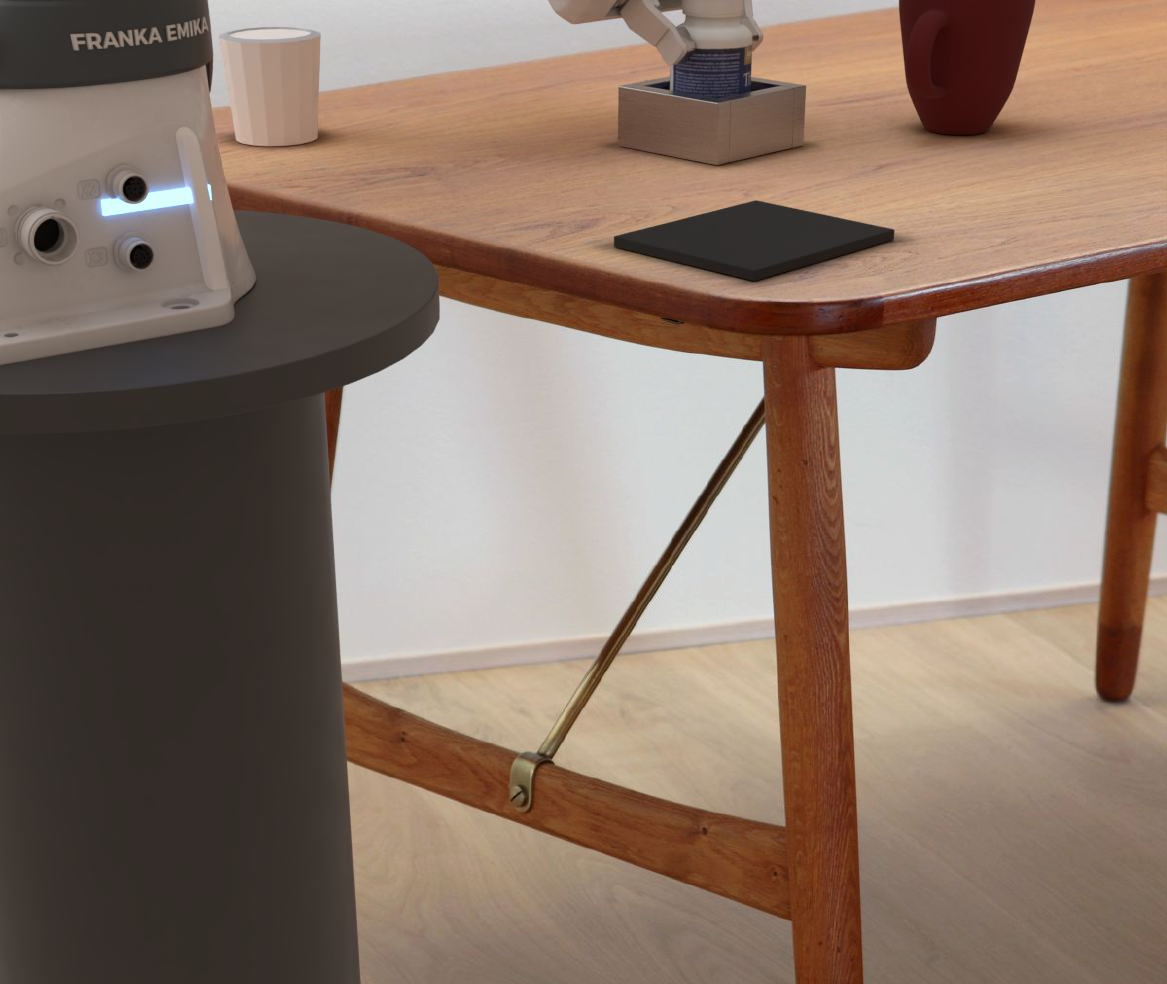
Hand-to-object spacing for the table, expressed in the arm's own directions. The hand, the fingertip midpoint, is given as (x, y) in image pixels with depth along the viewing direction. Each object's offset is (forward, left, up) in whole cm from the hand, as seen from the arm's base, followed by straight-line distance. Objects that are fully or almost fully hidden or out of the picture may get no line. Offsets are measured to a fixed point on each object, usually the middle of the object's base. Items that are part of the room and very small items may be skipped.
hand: (718, 52), depth 123 cm
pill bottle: (0, +1, -6) cm, 6 cm away
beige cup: (-19, +24, -6) cm, 31 cm away
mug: (+15, -8, -6) cm, 18 cm away
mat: (-18, -18, -6) cm, 26 cm away
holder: (0, +1, -6) cm, 6 cm away
